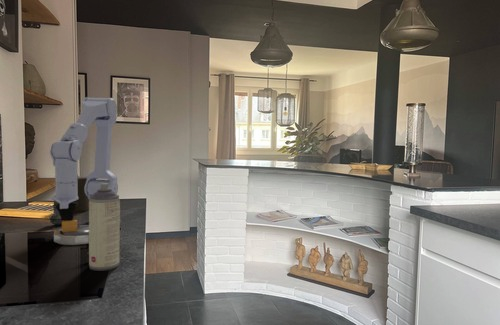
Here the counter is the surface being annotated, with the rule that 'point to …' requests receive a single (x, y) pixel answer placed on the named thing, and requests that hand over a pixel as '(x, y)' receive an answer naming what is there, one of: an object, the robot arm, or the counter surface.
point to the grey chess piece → (55, 215)
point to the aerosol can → (104, 229)
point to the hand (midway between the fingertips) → (67, 227)
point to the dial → (74, 228)
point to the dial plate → (70, 238)
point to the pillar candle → (82, 195)
